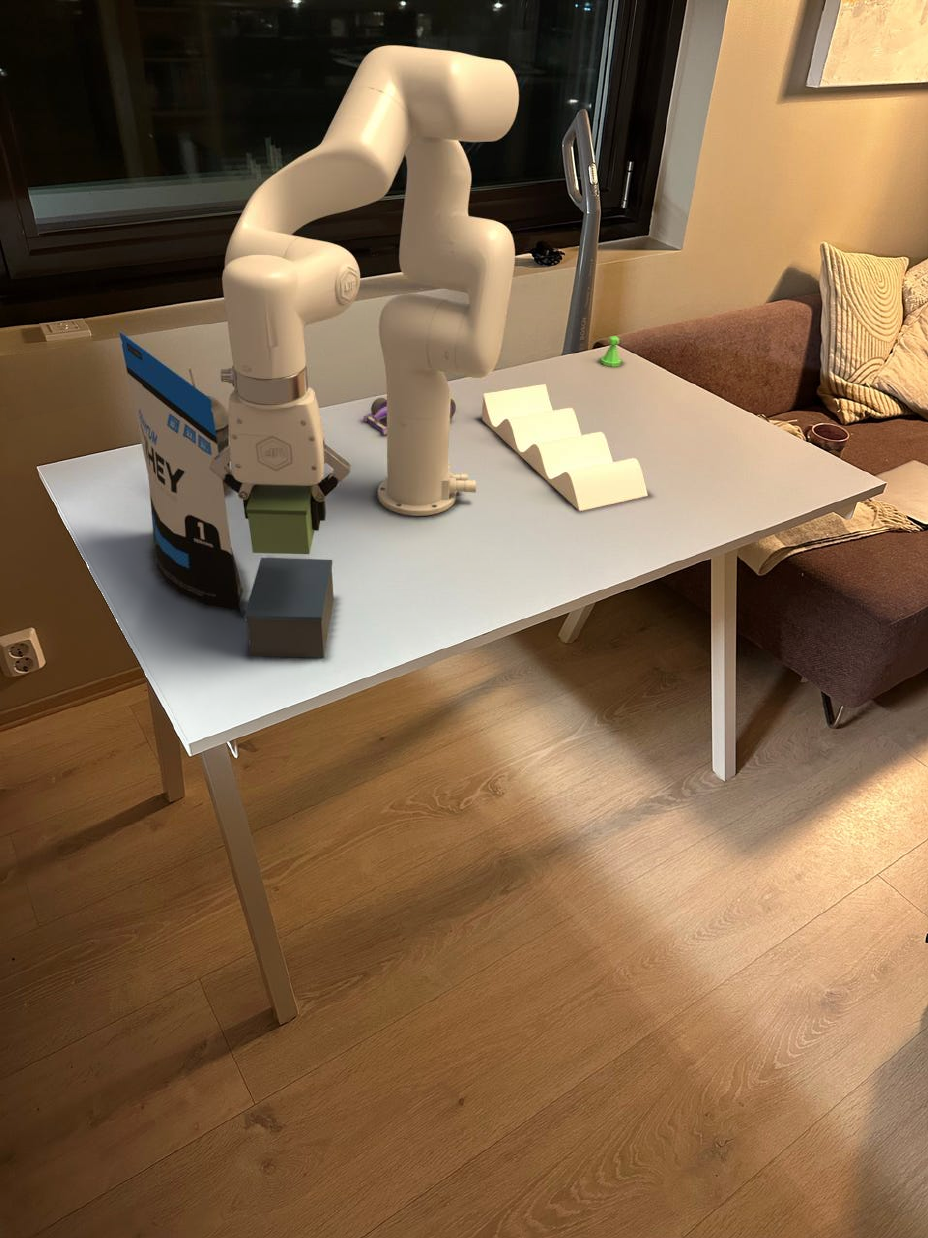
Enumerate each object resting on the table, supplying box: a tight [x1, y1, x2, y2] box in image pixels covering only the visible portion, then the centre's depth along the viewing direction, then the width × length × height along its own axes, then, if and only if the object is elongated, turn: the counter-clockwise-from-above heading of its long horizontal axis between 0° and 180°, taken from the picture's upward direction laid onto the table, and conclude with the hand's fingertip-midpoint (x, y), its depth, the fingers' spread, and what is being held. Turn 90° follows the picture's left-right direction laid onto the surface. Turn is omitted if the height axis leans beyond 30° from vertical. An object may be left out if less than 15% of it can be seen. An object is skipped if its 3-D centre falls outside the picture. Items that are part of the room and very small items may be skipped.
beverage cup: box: [188, 367, 231, 496], centre depth 133 cm, size 7×7×20 cm
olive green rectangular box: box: [246, 485, 315, 555], centre depth 103 cm, size 10×7×6 cm, turn 1°
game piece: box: [600, 335, 622, 368], centre depth 187 cm, size 4×4×6 cm
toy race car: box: [363, 397, 457, 436], centre depth 161 cm, size 10×15×6 cm, turn 126°
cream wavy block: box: [481, 383, 649, 512], centre depth 153 cm, size 13×35×5 cm, turn 26°
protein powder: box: [118, 331, 244, 615], centre depth 113 cm, size 10×24×30 cm, turn 40°
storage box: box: [243, 557, 335, 659], centre depth 112 cm, size 12×9×6 cm
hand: (286, 522), depth 104 cm, fingers closed on olive green rectangular box, 6 cm apart
